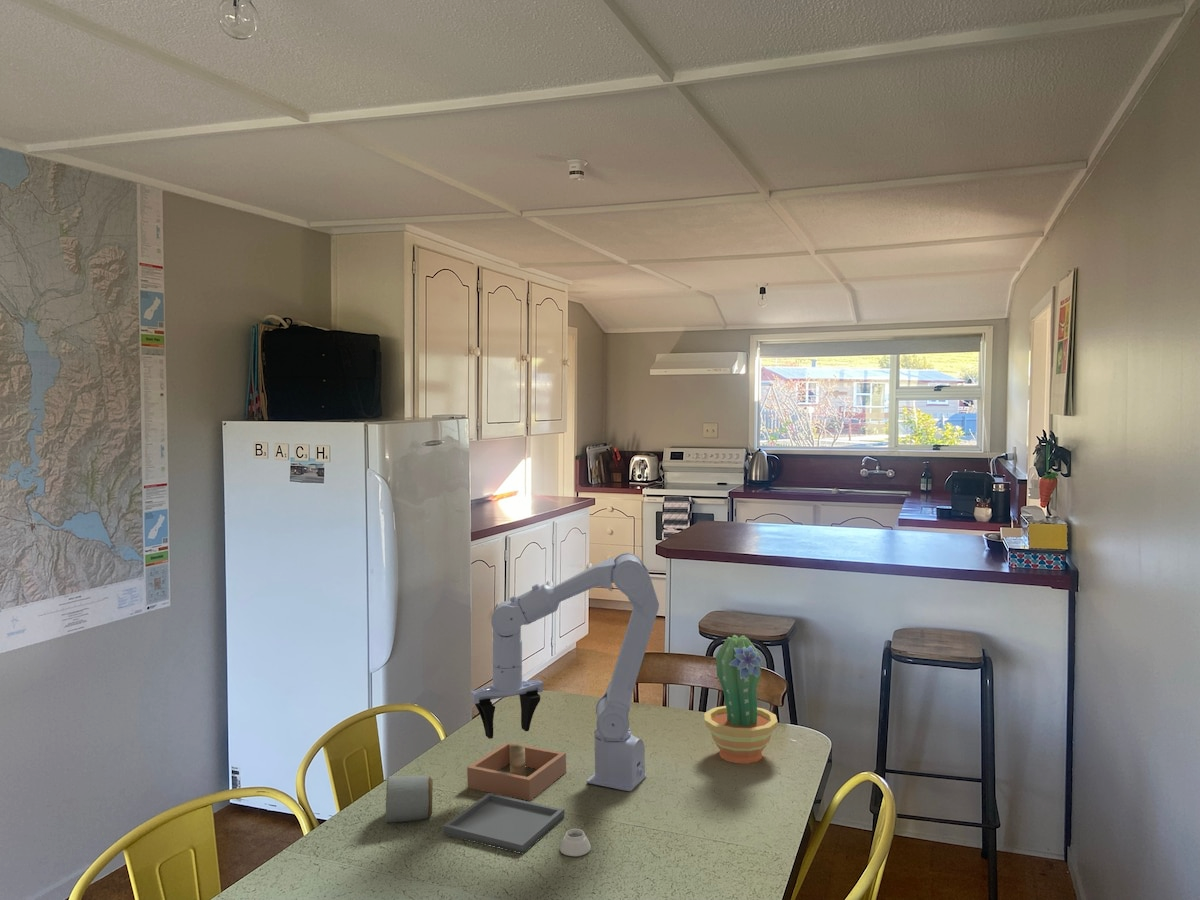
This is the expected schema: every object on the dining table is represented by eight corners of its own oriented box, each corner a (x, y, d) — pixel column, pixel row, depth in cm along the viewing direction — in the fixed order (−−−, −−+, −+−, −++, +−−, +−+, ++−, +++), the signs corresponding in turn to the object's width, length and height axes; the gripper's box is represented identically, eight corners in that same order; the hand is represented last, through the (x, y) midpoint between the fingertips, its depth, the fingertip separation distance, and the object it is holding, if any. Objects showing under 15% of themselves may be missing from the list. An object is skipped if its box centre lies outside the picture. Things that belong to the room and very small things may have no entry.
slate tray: (564, 817, 151) (564, 809, 151) (522, 854, 138) (522, 845, 138) (489, 800, 158) (489, 792, 158) (443, 834, 145) (442, 825, 145)
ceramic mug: (433, 825, 149) (432, 781, 149) (385, 830, 147) (384, 786, 147) (432, 800, 159) (431, 759, 159) (387, 804, 157) (386, 763, 157)
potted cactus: (695, 764, 173) (694, 642, 172) (713, 737, 187) (711, 625, 186) (771, 774, 167) (770, 649, 167) (783, 745, 182) (782, 630, 181)
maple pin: (528, 778, 167) (527, 743, 167) (520, 784, 165) (519, 748, 164) (515, 775, 169) (514, 741, 168) (507, 781, 166) (506, 746, 166)
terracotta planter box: (566, 772, 170) (565, 752, 170) (529, 801, 157) (529, 780, 157) (507, 761, 176) (506, 742, 176) (467, 787, 164) (467, 767, 163)
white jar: (596, 849, 140) (573, 840, 143) (596, 831, 140) (573, 823, 143) (576, 862, 136) (553, 852, 139) (576, 843, 136) (553, 834, 139)
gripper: (532, 654, 172) (532, 720, 173) (464, 664, 165) (464, 733, 165) (547, 663, 166) (547, 731, 167) (478, 673, 159) (478, 745, 159)
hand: (507, 733), depth 166 cm, fingers open, 7 cm apart
